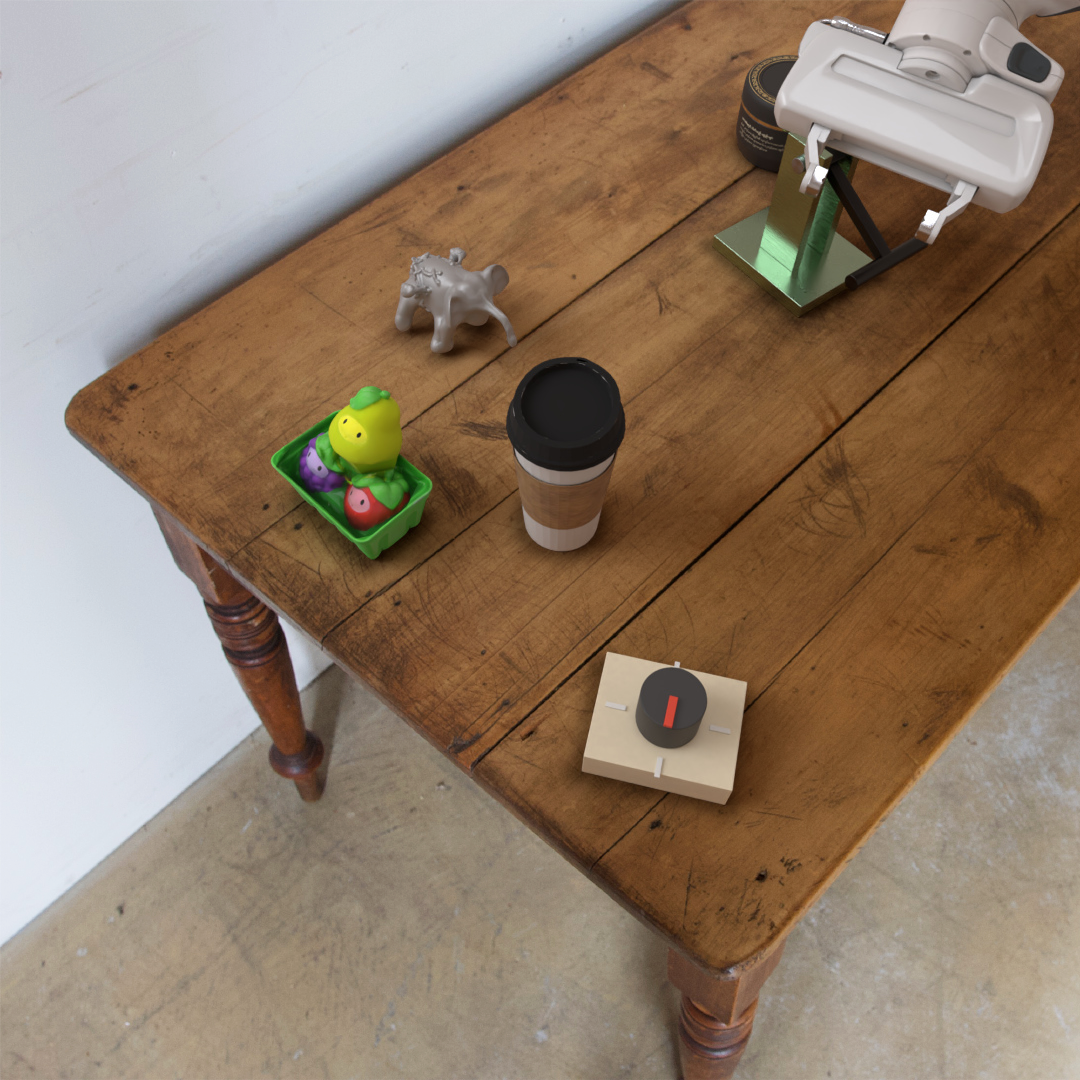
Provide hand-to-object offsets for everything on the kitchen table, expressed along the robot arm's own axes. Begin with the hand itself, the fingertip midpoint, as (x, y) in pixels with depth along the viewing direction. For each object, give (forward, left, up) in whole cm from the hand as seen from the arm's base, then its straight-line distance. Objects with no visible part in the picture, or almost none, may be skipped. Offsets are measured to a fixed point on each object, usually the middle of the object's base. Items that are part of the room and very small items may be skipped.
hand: (865, 215), depth 76 cm
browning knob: (+7, +38, -13) cm, 41 cm away
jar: (+6, -30, -16) cm, 34 cm away
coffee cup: (+18, +22, -16) cm, 33 cm away
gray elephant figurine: (+31, +4, -16) cm, 36 cm away
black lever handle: (0, -10, -8) cm, 13 cm away
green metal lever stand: (+3, -13, -16) cm, 21 cm away
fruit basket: (+34, +25, -16) cm, 45 cm away
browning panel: (+7, +38, -16) cm, 42 cm away
